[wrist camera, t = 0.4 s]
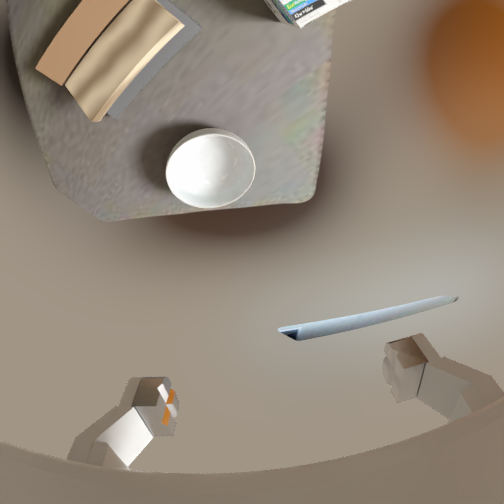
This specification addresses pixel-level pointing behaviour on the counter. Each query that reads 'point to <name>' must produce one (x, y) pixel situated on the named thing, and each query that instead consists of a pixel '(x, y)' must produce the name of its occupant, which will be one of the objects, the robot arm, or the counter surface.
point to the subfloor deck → (89, 31)
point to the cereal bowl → (210, 168)
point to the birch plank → (121, 55)
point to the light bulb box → (302, 10)
